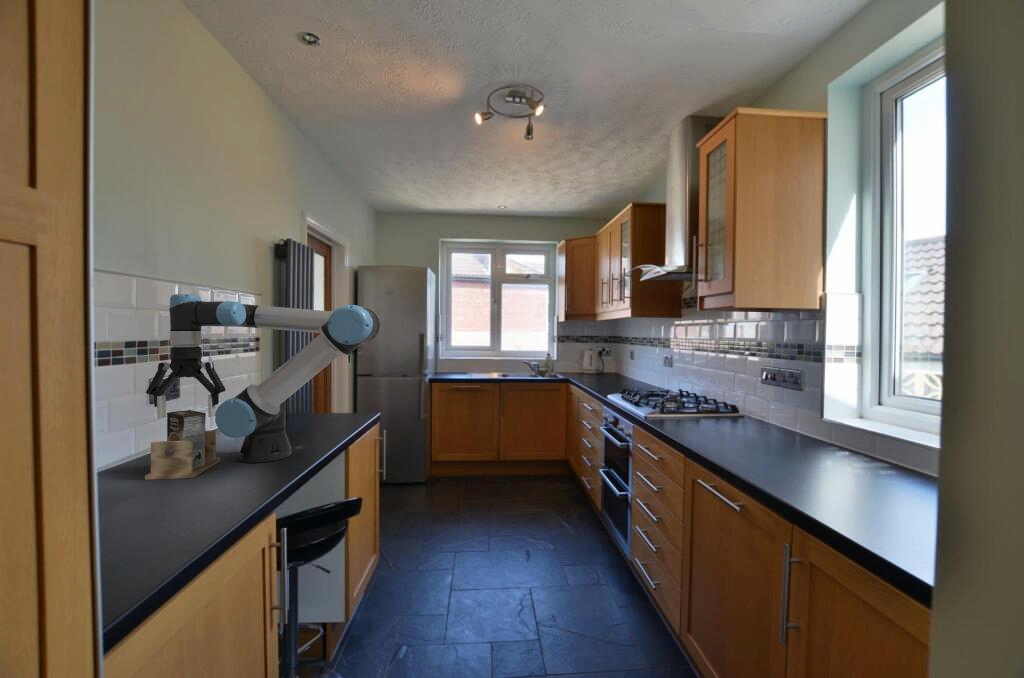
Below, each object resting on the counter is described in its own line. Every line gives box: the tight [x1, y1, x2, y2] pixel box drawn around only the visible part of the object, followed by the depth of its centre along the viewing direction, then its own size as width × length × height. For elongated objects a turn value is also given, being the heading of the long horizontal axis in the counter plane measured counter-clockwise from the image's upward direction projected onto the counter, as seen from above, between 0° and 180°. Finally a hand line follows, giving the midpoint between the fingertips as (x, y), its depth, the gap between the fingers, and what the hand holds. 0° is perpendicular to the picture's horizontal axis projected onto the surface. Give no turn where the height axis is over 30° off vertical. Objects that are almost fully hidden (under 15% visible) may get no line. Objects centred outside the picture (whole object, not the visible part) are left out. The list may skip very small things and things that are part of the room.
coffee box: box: [166, 409, 207, 468], centre depth 130 cm, size 9×6×16 cm
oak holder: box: [144, 429, 221, 480], centre depth 130 cm, size 12×16×10 cm
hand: (187, 417), depth 130 cm, fingers open, 13 cm apart
